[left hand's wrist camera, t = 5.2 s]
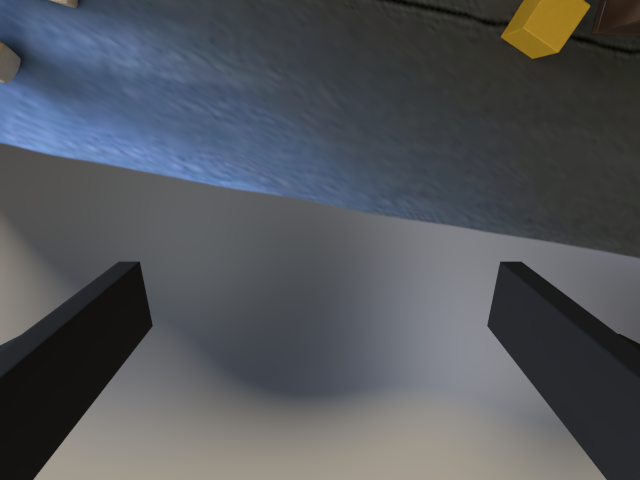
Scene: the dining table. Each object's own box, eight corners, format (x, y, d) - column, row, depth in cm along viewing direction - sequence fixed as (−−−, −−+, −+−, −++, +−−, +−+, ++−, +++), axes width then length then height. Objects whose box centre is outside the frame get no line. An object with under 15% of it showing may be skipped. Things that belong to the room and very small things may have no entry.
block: (532, 59, 35) (558, 52, 31) (500, 37, 34) (523, 27, 30) (560, 17, 34) (591, 5, 30) (527, -7, 33) (555, -22, 29)
